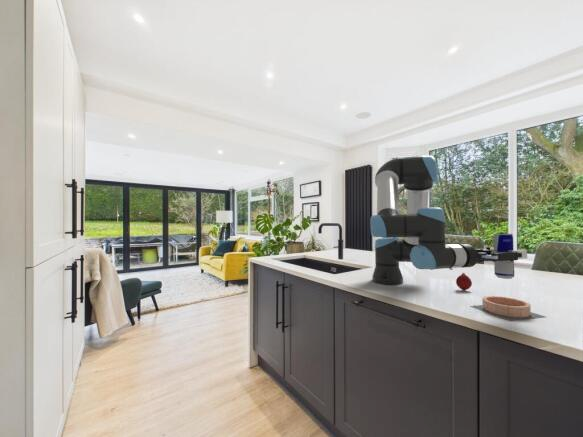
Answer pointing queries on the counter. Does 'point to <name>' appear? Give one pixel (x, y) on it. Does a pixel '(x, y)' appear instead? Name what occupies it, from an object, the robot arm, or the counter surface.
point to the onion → (463, 282)
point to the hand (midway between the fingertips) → (516, 253)
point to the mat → (532, 316)
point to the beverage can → (503, 244)
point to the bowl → (507, 306)
